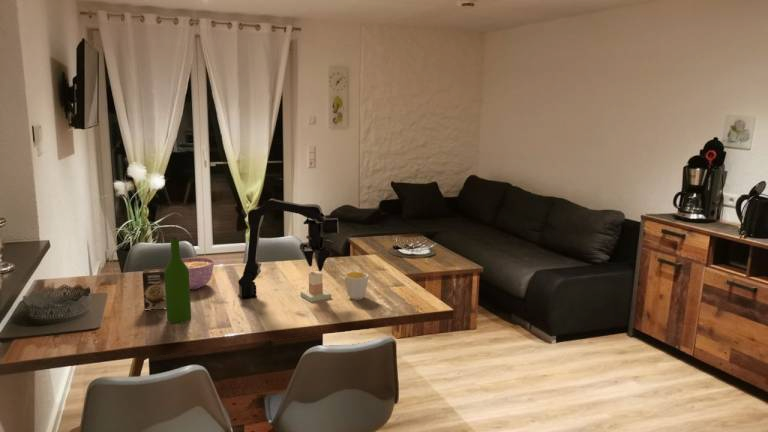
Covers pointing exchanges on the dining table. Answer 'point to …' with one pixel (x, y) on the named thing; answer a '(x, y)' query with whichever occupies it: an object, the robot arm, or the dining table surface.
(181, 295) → the wine bottle
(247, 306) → the dining table surface
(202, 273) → the bowl of food
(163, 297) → the coffee box
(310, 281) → the brick cream
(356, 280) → the mug
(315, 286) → the orange brown cube
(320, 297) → the base plate
